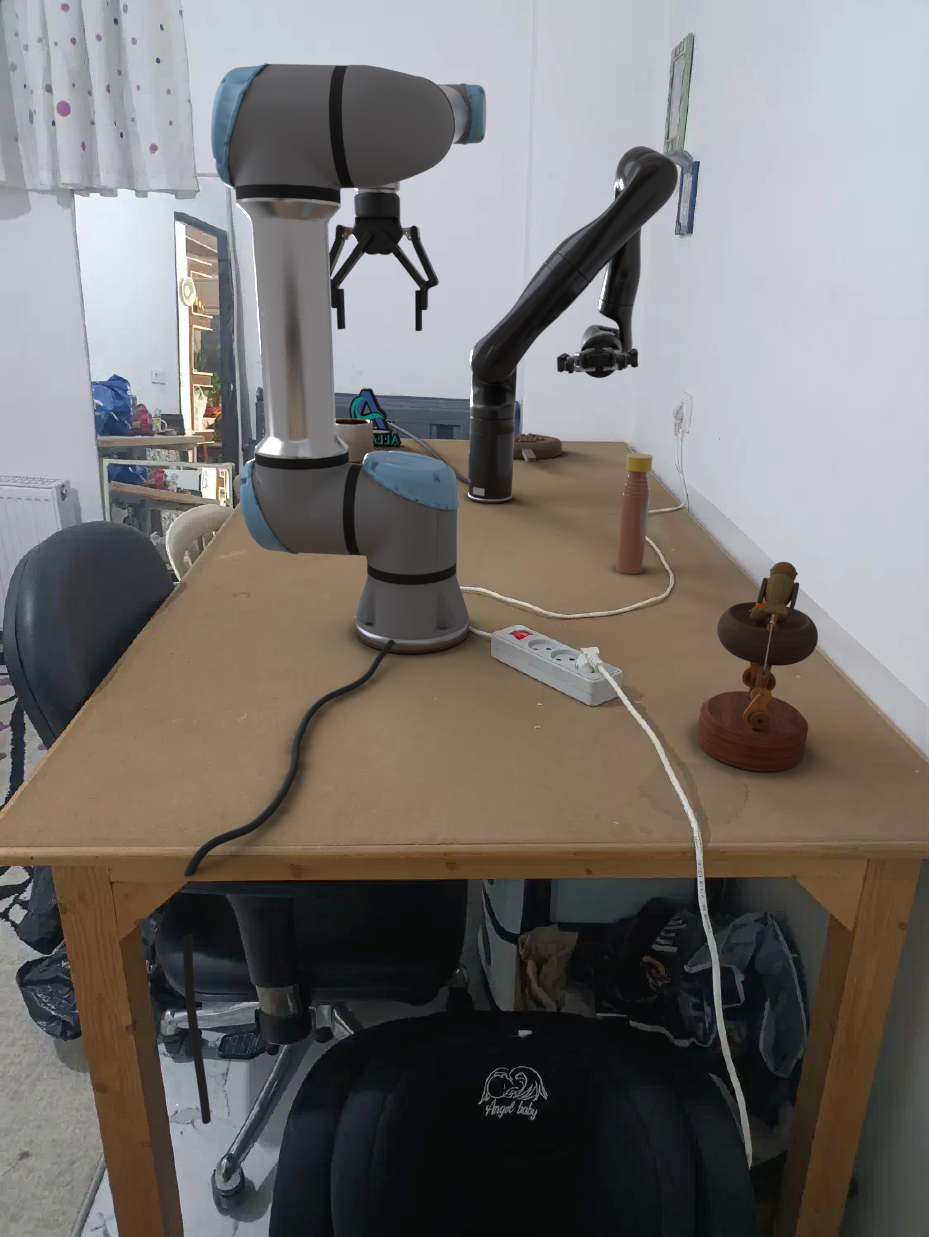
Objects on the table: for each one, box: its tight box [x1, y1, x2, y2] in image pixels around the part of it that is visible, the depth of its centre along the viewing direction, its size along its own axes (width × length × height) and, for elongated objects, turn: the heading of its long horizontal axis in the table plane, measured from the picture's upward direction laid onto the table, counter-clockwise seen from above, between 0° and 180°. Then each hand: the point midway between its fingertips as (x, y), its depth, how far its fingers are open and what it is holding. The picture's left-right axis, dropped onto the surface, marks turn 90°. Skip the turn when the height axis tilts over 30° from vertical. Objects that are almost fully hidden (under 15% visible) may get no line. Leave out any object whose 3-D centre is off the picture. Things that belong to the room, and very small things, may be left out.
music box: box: [696, 561, 819, 772], centre depth 84 cm, size 15×11×20 cm
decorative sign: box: [348, 387, 402, 447], centre depth 230 cm, size 19×2×15 cm, turn 86°
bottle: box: [615, 470, 651, 575], centre depth 135 cm, size 4×4×18 cm
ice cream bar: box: [513, 432, 563, 463], centre depth 220 cm, size 21×28×4 cm
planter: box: [335, 417, 375, 464], centre depth 212 cm, size 11×11×10 cm
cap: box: [625, 452, 653, 473], centre depth 131 cm, size 4×4×2 cm
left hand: (379, 330), depth 146 cm, fingers open, 13 cm apart
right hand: (595, 365), depth 145 cm, fingers open, 8 cm apart
